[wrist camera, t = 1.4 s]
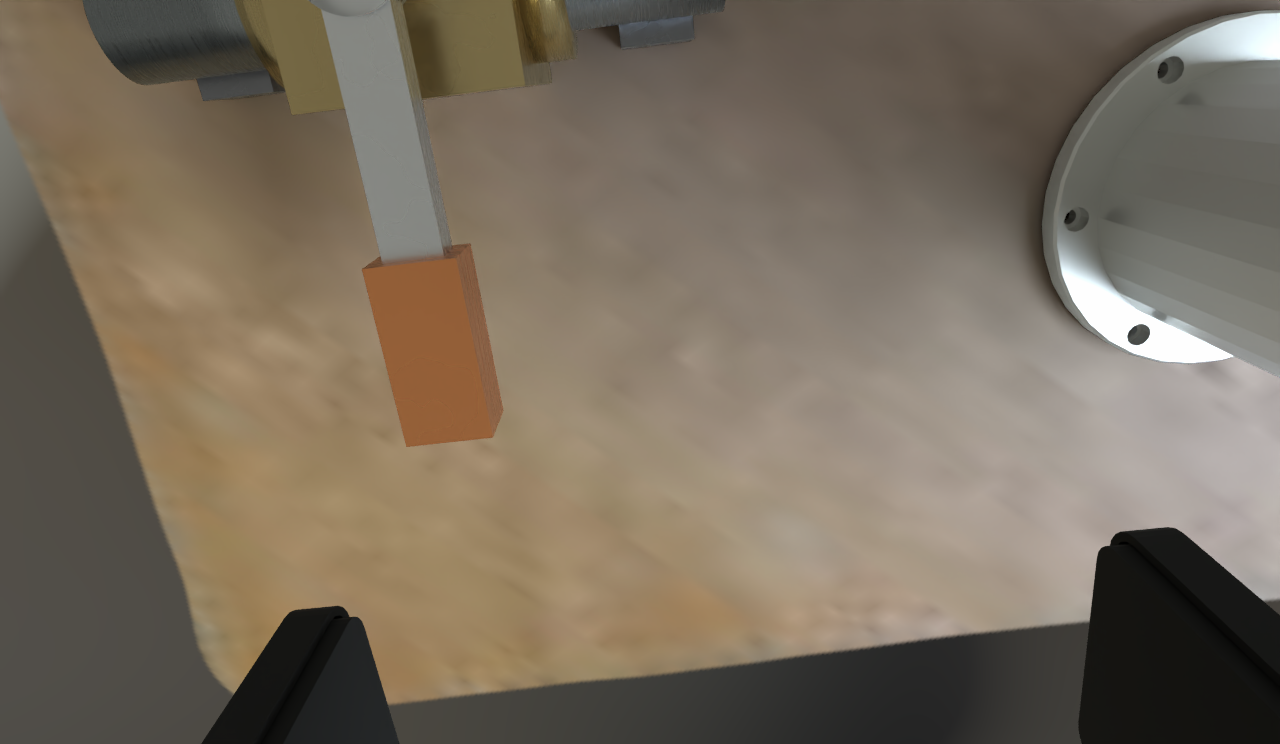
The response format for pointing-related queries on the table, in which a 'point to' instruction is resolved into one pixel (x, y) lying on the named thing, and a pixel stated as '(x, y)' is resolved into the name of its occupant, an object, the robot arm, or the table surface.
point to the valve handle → (411, 235)
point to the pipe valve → (302, 59)
